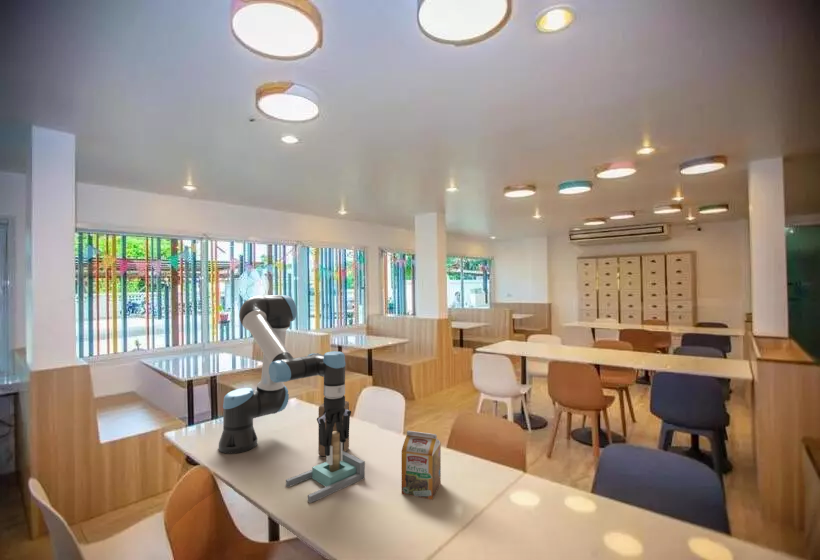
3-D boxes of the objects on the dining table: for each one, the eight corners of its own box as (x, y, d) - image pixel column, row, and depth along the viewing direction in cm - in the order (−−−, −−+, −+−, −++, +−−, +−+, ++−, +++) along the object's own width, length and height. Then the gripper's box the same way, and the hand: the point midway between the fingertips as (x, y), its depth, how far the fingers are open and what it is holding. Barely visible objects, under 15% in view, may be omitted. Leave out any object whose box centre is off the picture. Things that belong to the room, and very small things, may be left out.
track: (285, 485, 136) (285, 467, 136) (338, 464, 151) (338, 448, 151) (310, 503, 125) (310, 484, 125) (364, 478, 141) (364, 461, 141)
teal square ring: (312, 478, 141) (312, 467, 141) (337, 467, 148) (337, 457, 148) (330, 489, 133) (330, 477, 133) (356, 478, 141) (356, 466, 141)
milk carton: (440, 483, 137) (440, 428, 137) (432, 499, 127) (432, 440, 127) (411, 478, 140) (411, 425, 141) (401, 493, 130) (401, 436, 131)
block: (341, 458, 156) (341, 408, 156) (317, 456, 158) (317, 406, 158) (349, 448, 166) (349, 400, 166) (327, 446, 168) (327, 399, 168)
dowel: (327, 472, 141) (327, 433, 141) (335, 469, 143) (335, 430, 143) (333, 476, 138) (333, 435, 138) (341, 472, 141) (341, 433, 141)
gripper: (320, 403, 132) (320, 473, 132) (359, 393, 144) (359, 457, 144) (308, 398, 137) (308, 466, 137) (346, 389, 149) (347, 451, 149)
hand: (334, 461), depth 141 cm, fingers closed on dowel, 3 cm apart
